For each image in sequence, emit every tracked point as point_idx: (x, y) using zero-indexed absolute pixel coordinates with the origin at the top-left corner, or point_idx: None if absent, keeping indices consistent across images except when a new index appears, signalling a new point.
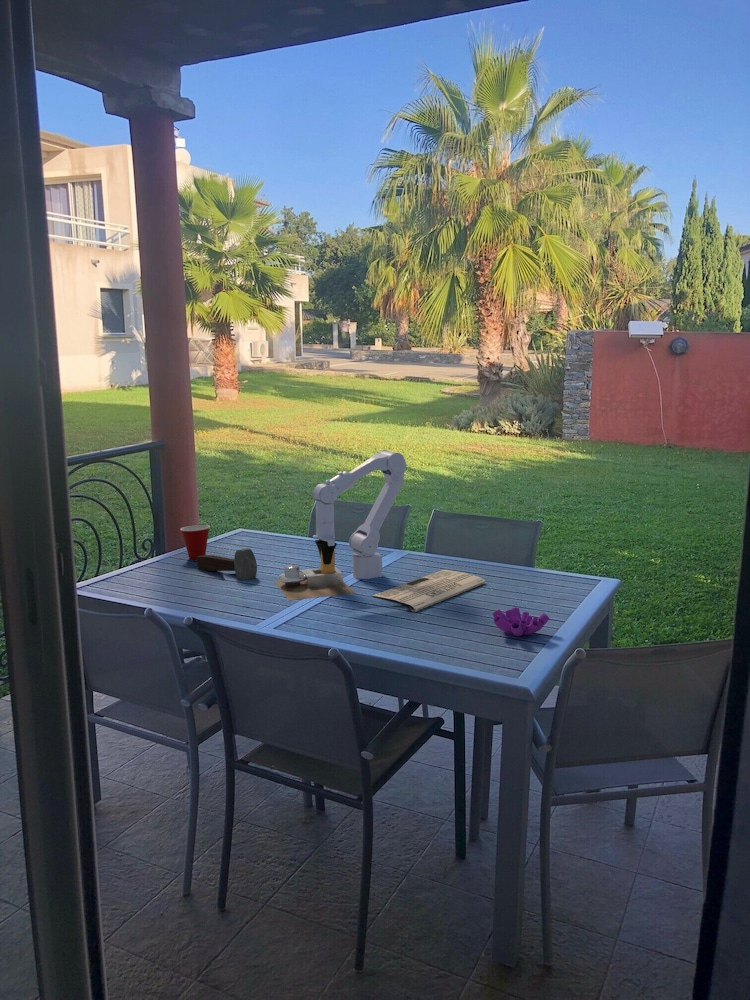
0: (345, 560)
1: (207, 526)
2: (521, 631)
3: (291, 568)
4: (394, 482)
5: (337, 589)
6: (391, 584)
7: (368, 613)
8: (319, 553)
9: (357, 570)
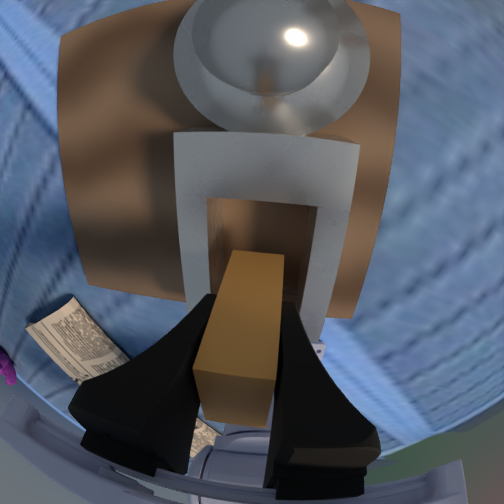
0: (475, 366)
1: None
2: None
3: (214, 15)
4: None
5: (129, 247)
6: None
7: (10, 250)
8: (308, 343)
9: None
